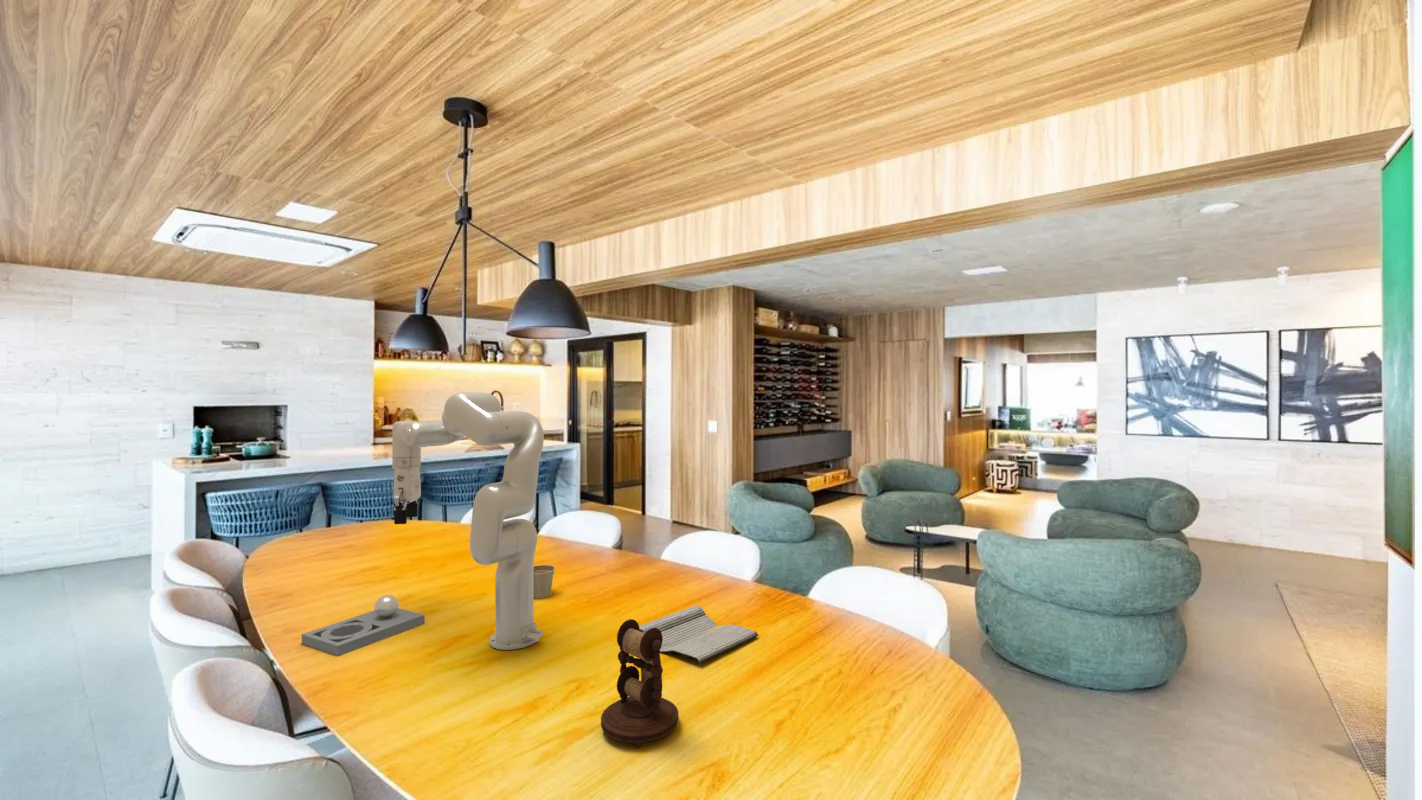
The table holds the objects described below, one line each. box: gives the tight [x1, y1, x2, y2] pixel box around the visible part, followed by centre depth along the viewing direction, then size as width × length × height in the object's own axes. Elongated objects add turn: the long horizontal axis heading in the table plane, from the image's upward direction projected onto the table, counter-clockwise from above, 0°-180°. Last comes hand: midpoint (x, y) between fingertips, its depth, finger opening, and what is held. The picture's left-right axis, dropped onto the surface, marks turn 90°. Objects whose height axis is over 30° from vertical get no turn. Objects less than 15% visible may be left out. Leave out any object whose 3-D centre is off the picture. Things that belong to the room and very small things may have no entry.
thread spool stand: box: [600, 618, 679, 749], centre depth 115 cm, size 15×15×20 cm
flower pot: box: [533, 564, 557, 599], centre depth 192 cm, size 9×9×9 cm
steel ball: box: [373, 594, 399, 618], centre depth 167 cm, size 6×6×6 cm
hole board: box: [301, 607, 425, 657], centre depth 162 cm, size 16×24×2 cm, turn 152°
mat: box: [639, 605, 759, 667], centre depth 156 cm, size 23×24×5 cm
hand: (406, 520), depth 177 cm, fingers open, 9 cm apart
